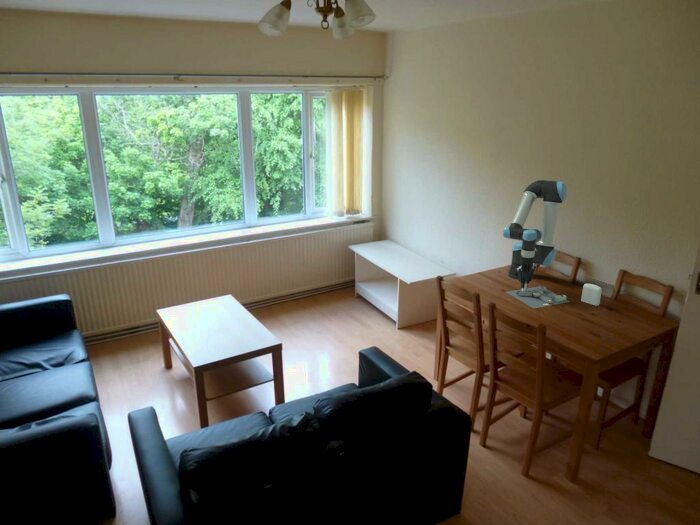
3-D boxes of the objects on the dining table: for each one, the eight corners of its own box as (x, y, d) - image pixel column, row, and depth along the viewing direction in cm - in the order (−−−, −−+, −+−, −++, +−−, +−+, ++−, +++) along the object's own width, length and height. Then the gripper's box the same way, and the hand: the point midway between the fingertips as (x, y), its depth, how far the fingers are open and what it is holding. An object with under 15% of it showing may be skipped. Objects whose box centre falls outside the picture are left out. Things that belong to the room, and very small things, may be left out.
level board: (539, 287, 316) (540, 281, 314) (569, 303, 293) (570, 296, 291) (505, 293, 308) (506, 286, 306) (533, 310, 284) (534, 302, 283)
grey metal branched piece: (513, 288, 312) (514, 283, 311) (545, 290, 308) (546, 285, 307) (517, 301, 292) (518, 296, 291) (551, 304, 288) (552, 299, 287)
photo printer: (579, 302, 294) (582, 283, 290) (583, 300, 296) (586, 281, 292) (596, 308, 286) (600, 288, 282) (600, 306, 289) (603, 286, 285)
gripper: (532, 252, 301) (528, 288, 309) (514, 255, 297) (510, 292, 305) (540, 256, 294) (536, 293, 302) (522, 259, 290) (518, 296, 298)
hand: (523, 292), depth 303 cm, fingers closed
